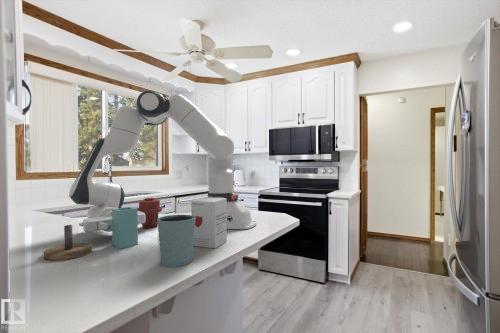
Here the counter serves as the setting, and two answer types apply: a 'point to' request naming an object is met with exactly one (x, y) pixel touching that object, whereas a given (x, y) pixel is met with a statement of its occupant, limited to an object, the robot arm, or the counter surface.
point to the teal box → (124, 227)
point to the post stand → (67, 248)
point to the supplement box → (210, 221)
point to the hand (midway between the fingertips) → (123, 224)
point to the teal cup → (176, 239)
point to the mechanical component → (150, 211)
